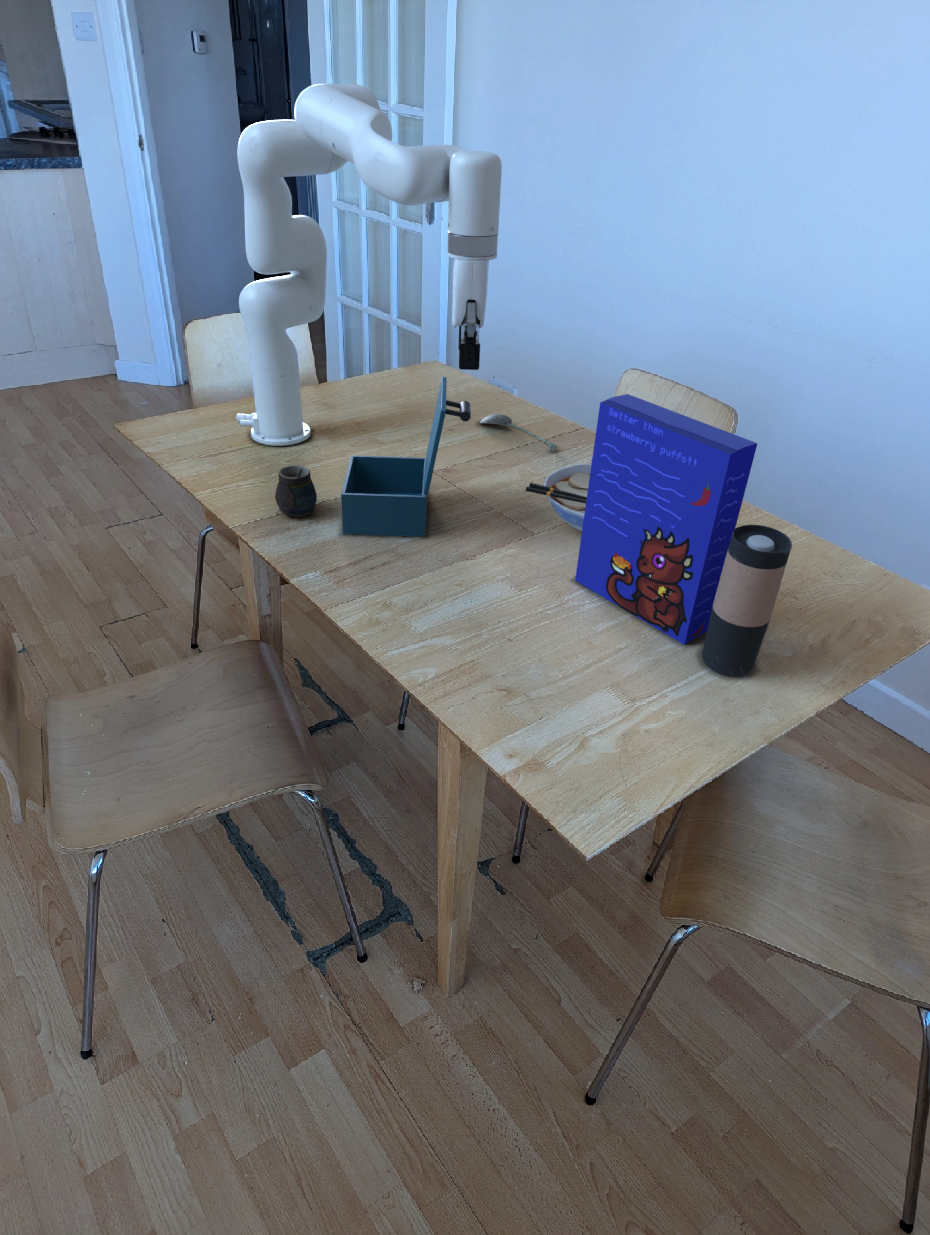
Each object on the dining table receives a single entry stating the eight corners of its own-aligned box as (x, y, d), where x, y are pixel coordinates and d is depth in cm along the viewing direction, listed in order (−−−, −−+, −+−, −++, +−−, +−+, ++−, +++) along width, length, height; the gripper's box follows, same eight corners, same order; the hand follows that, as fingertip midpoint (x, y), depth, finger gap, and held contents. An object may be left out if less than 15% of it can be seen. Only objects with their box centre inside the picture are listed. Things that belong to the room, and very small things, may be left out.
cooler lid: (441, 410, 130) (474, 417, 130) (442, 376, 143) (472, 382, 144) (423, 494, 138) (454, 500, 139) (425, 455, 151) (454, 460, 152)
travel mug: (692, 645, 120) (723, 524, 108) (743, 644, 120) (778, 523, 109) (710, 678, 113) (744, 553, 102) (763, 677, 114) (803, 553, 103)
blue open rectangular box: (342, 534, 142) (341, 494, 138) (352, 492, 156) (350, 455, 151) (425, 536, 143) (425, 497, 138) (427, 495, 156) (428, 457, 152)
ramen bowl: (685, 517, 153) (693, 476, 148) (654, 573, 136) (663, 530, 131) (558, 487, 161) (563, 448, 156) (514, 537, 144) (518, 495, 139)
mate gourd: (304, 499, 152) (300, 448, 147) (327, 514, 148) (323, 463, 142) (269, 509, 148) (264, 458, 143) (292, 526, 144) (287, 473, 138)
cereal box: (708, 630, 123) (758, 441, 106) (684, 644, 120) (731, 452, 103) (599, 569, 136) (628, 392, 119) (575, 580, 133) (600, 400, 116)
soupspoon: (495, 420, 191) (474, 427, 187) (495, 406, 189) (473, 413, 185) (565, 447, 177) (543, 456, 174) (565, 433, 175) (544, 441, 172)
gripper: (448, 234, 131) (445, 343, 140) (447, 256, 116) (444, 376, 126) (495, 236, 131) (489, 345, 140) (500, 258, 117) (493, 377, 126)
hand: (468, 359), depth 133 cm, fingers open, 9 cm apart
